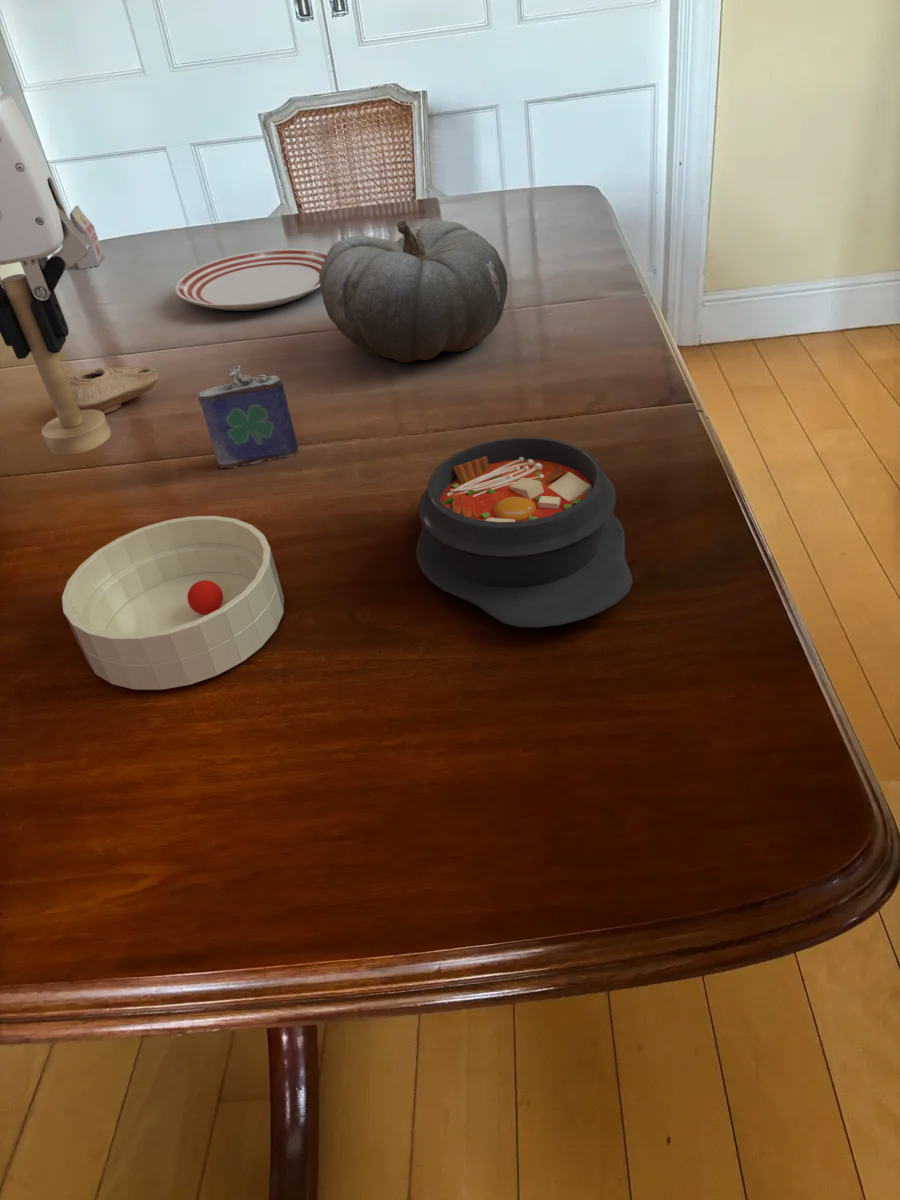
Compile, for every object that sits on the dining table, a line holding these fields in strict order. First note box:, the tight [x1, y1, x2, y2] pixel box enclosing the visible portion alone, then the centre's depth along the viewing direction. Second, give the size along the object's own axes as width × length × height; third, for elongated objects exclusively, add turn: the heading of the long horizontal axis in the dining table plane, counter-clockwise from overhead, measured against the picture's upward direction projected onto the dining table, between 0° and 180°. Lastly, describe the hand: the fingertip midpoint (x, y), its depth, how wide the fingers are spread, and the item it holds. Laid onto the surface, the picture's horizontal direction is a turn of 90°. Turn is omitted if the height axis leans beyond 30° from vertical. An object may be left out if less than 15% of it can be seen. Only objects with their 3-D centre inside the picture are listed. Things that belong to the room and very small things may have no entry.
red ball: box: [187, 580, 223, 615], centre depth 78 cm, size 3×3×3 cm
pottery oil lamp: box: [67, 366, 160, 415], centre depth 117 cm, size 9×12×7 cm
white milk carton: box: [69, 204, 105, 270], centre depth 173 cm, size 4×7×10 cm, turn 9°
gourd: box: [319, 218, 508, 363], centre depth 120 cm, size 25×25×17 cm
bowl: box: [61, 515, 285, 691], centre depth 77 cm, size 17×17×6 cm
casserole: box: [415, 437, 634, 629], centre depth 78 cm, size 25×19×8 cm
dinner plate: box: [174, 248, 328, 312], centre depth 149 cm, size 28×27×3 cm
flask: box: [197, 365, 299, 469], centre depth 99 cm, size 9×3×11 cm, turn 102°
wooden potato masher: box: [1, 273, 112, 456], centre depth 71 cm, size 5×5×14 cm
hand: (42, 347), depth 70 cm, fingers closed on wooden potato masher
